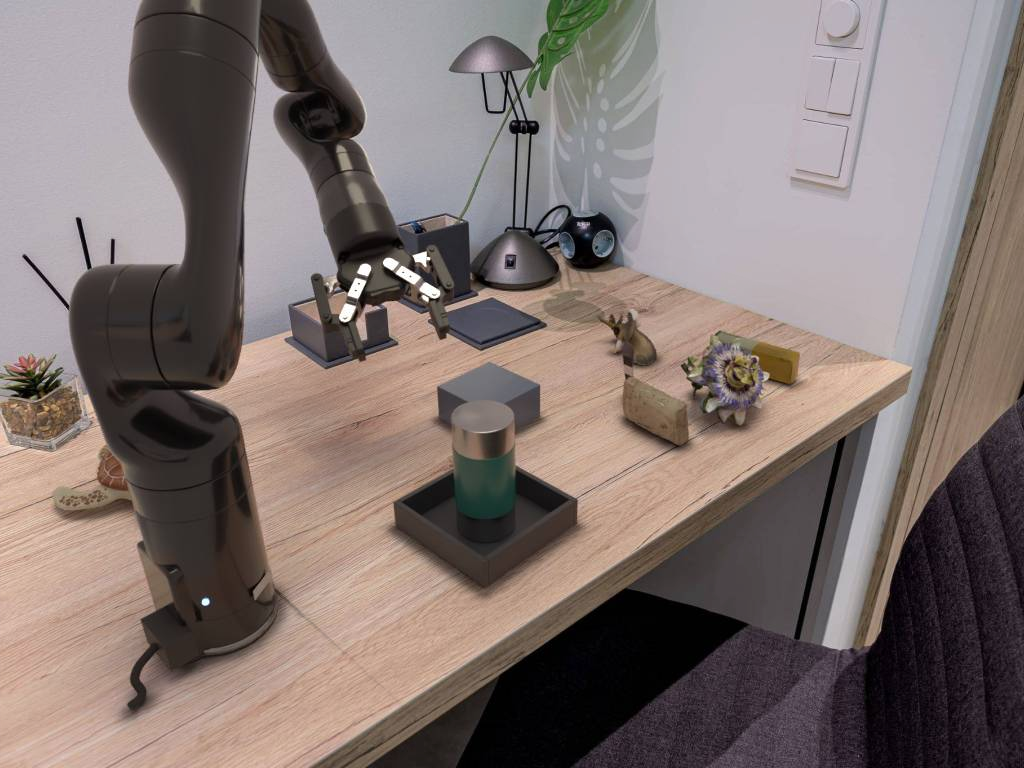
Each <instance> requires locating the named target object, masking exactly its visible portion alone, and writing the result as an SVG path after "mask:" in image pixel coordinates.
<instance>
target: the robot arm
mask: <svg viewBox="0 0 1024 768" xmlns="http://www.w3.org/2000/svg"><path fill="white" fill-rule="evenodd" d="M134 19H135V20H134V25H133V31H132V39H131V40H132V41H131V49H130V58H129V65H128V78H127V82H128V83H127V95H128V98H129V102H130V105H131V108H132V111H133V113H134V116H135V119H136V120H137V122H138V125H139V127H140V128H141V130H142V132H143V134H144V136H145V138H146V140H147V141H148V143H149V145H150V147H151V148H152V149H153V151H154V153H155V155H156V157H157V158H158V159H159V161H160V163H161V164H162V166H163V167H164V170H165V171H166V173H167V174H168V177H169V178H170V180H171V182H172V184H173V186H174V188H175V191H176V193H177V195H178V199H179V200H180V201H179V202H180V203H181V207H182V211H183V219H184V232H185V235H184V236H185V240H184V253H183V257H182V261H181V263H110V264H100V265H96V266H93V267H91V268H89V269H88V270H86V271H84V273H83V274H82V275H81V276H80V277H79V278H78V279H77V281H76V282H75V284H74V286H73V289H72V292H71V294H70V298H69V304H68V306H69V307H68V331H69V339H70V343H71V347H72V351H73V355H74V359H75V362H76V366H77V368H78V371H79V374H80V378H81V380H82V383H83V385H84V387H85V391H86V393H87V396H88V398H89V401H90V404H91V406H92V408H93V412H94V414H95V417H96V420H97V422H98V425H99V428H100V431H101V434H102V437H103V439H104V442H105V445H107V446H108V448H109V450H110V451H111V453H112V454H113V455H114V457H115V458H116V459H117V460H118V461H119V462H120V464H121V467H122V470H123V473H124V476H125V480H126V483H127V487H128V490H129V493H130V497H131V500H130V501H131V503H132V507H133V512H134V513H135V517H136V521H137V524H138V527H139V531H140V535H141V537H142V538H141V539H142V540H140V541H138V542H137V543H136V548H137V552H138V556H139V559H140V562H141V566H142V568H143V573H144V575H145V579H146V582H147V585H148V589H149V592H150V597H151V598H152V603H153V605H154V609H155V611H153V612H151V613H149V614H147V615H146V616H144V617H141V618H140V622H141V626H142V629H143V633H144V635H145V639H146V642H147V645H149V646H148V648H146V650H145V651H144V652H143V653H142V655H141V656H140V657H139V658H138V659H137V661H135V663H134V665H133V667H132V669H131V671H130V675H129V682H130V686H131V687H132V688H133V690H134V691H136V693H137V694H136V696H135V697H134V698H132V699H131V700H129V701H128V702H127V704H126V705H127V708H129V709H130V710H132V711H134V710H136V709H137V708H138V707H140V706H141V705H142V704H143V703H144V702H145V700H146V698H147V695H148V692H147V691H148V690H147V687H146V686H145V684H144V683H143V682H142V681H141V678H140V677H141V674H142V671H143V669H144V667H145V666H146V665H147V663H148V662H149V661H150V660H151V659H152V658H153V656H154V655H157V656H158V657H159V658H160V659H161V661H162V662H163V663H164V665H165V666H166V667H167V668H168V669H169V670H170V671H171V672H173V671H175V670H177V669H178V668H180V667H182V666H183V665H186V663H188V662H196V661H198V660H200V659H201V658H203V657H206V656H217V655H222V654H226V653H227V654H228V653H230V652H234V651H237V650H239V649H242V648H243V647H245V646H248V645H249V644H251V643H253V642H254V641H256V640H257V639H258V638H259V637H261V636H262V635H263V634H264V633H265V632H266V631H267V630H268V629H269V628H270V627H271V625H272V624H273V622H274V620H275V618H276V616H277V614H278V609H279V601H278V596H277V593H276V590H275V589H276V588H275V585H274V581H273V573H272V569H271V567H270V562H269V558H268V553H267V548H266V544H265V538H264V534H263V529H262V528H263V527H262V523H261V519H260V513H259V509H258V504H257V503H258V502H257V500H256V495H255V494H256V493H255V490H254V489H255V488H254V485H253V480H252V474H251V469H250V466H249V465H250V464H249V460H248V454H247V449H246V444H245V439H244V434H243V433H244V432H243V429H242V424H241V422H240V419H239V418H238V416H237V415H236V414H235V413H234V411H233V410H232V409H230V408H229V407H227V406H225V405H224V404H222V403H220V402H218V401H216V400H213V399H210V398H207V397H205V396H203V395H200V394H197V393H195V392H197V391H198V392H201V391H215V390H219V389H221V388H223V387H225V386H226V385H227V384H228V383H230V381H231V380H232V378H233V376H234V375H235V373H236V370H237V368H238V366H239V362H240V358H241V353H242V350H243V349H242V348H243V342H244V341H243V340H244V328H245V270H246V269H245V266H246V264H245V261H246V260H245V256H246V255H245V254H246V253H245V252H246V251H245V250H246V249H245V248H246V247H245V241H246V240H245V239H246V237H245V236H246V235H245V234H246V231H245V230H246V227H245V226H246V225H245V224H246V223H245V222H246V219H245V218H246V214H245V213H246V194H247V182H248V181H247V180H248V168H249V156H250V148H251V138H252V130H253V123H254V122H253V121H254V113H255V106H256V98H257V97H256V96H257V87H258V86H257V85H258V73H259V63H260V62H259V61H261V63H262V65H263V67H264V69H265V72H266V74H267V76H268V78H269V79H270V80H271V82H272V84H274V86H275V87H276V88H278V89H280V90H281V91H284V92H287V93H285V94H283V95H281V96H280V97H279V98H278V99H277V101H276V102H275V104H274V107H273V111H272V120H273V124H274V127H275V129H276V132H277V134H278V135H279V137H280V138H281V140H282V142H284V144H285V146H287V148H288V149H289V150H290V152H291V153H292V154H293V155H294V156H295V157H296V158H297V160H298V161H299V162H300V163H301V165H302V167H303V168H304V170H305V172H306V174H307V176H308V179H309V181H310V183H311V187H312V189H313V193H314V195H315V199H316V201H317V205H318V212H319V216H320V221H321V224H322V228H323V229H322V230H323V232H324V235H325V236H326V239H327V241H328V245H329V247H330V250H331V253H332V256H333V259H334V262H335V264H336V268H337V272H336V274H333V275H328V276H323V275H322V274H321V273H317V272H315V273H312V274H311V276H310V281H311V286H312V290H313V295H314V300H315V303H316V307H317V312H318V316H319V321H320V324H321V328H322V331H323V332H324V333H325V334H332V333H333V332H339V333H341V334H342V336H343V339H344V342H345V345H346V347H347V350H348V353H349V355H350V357H351V358H352V359H357V360H358V363H361V362H365V361H367V357H366V351H365V348H364V344H363V341H362V338H361V336H360V332H359V330H358V326H357V323H358V320H359V319H360V318H361V317H362V316H363V313H364V311H365V309H366V306H367V305H368V306H371V307H372V308H374V307H378V306H381V305H383V304H384V303H387V302H388V303H389V302H397V301H400V300H402V297H404V298H406V299H408V300H410V301H411V302H413V303H414V304H417V303H419V304H421V305H422V306H424V307H426V308H427V309H428V314H429V316H430V319H431V321H432V324H433V327H434V329H435V332H436V335H437V338H438V340H439V341H442V340H446V339H447V334H448V333H450V325H451V324H450V323H451V321H450V320H451V319H450V318H449V315H448V313H447V310H446V307H445V303H447V302H453V300H455V285H456V283H455V281H454V279H453V277H452V275H451V273H450V270H449V269H448V267H447V264H446V263H445V260H444V258H443V256H442V254H441V252H440V251H439V248H438V247H437V246H436V245H435V244H429V245H428V246H426V248H425V249H426V250H425V251H422V252H419V253H417V254H411V253H410V252H409V251H408V249H407V248H406V246H405V243H404V241H403V239H402V236H401V233H400V231H399V228H398V225H397V222H396V220H395V218H394V215H393V213H392V210H391V206H390V205H389V202H388V199H387V197H386V195H385V193H384V191H383V189H382V188H381V186H380V185H379V182H378V180H377V177H376V174H375V172H374V169H373V167H372V164H371V161H370V159H369V156H368V154H367V152H366V150H365V149H364V147H363V146H362V145H361V144H360V143H359V142H358V141H356V140H354V138H356V137H358V136H360V135H361V134H362V133H363V131H364V129H365V128H366V124H367V121H368V113H367V108H366V105H365V102H364V100H363V98H362V96H361V94H360V93H359V91H358V90H357V88H356V87H355V86H354V85H353V83H352V82H351V81H350V80H349V78H348V77H347V76H346V75H345V74H344V73H343V71H342V70H341V69H340V67H339V66H338V65H337V64H336V63H335V62H336V61H334V59H333V57H332V55H331V53H330V51H329V49H328V47H327V45H326V42H325V39H324V37H323V34H322V31H321V28H320V26H319V24H318V21H317V17H316V15H315V12H314V10H313V8H312V6H311V4H310V3H309V0H141V1H140V4H139V6H138V10H137V12H136V16H135V18H134ZM259 58H260V59H259ZM416 268H421V269H422V270H423V271H424V272H425V273H426V274H431V276H432V278H433V280H434V282H435V284H436V286H437V287H435V286H433V285H431V284H429V283H428V282H426V280H424V278H423V277H422V276H421V275H419V274H417V273H416V272H415V271H416ZM336 288H339V289H341V290H342V291H343V292H345V293H346V298H345V302H344V305H343V306H342V308H341V310H340V313H332V309H331V306H330V301H329V300H331V298H333V296H334V295H335V289H336Z"/></svg>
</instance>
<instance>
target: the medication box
mask: <svg viewBox="0 0 1024 768" xmlns="http://www.w3.org/2000/svg"><path fill="white" fill-rule="evenodd" d="M713 335H714V336H717V337H718V340H719V341H720V342H721V343H722V345H726V343H728V344H729V345H730V343H731V342H732V341H734V340H735V339H737V338H738V339H740V347H739V348H740V349H741V351H742V350H743V349H745V352H744V355H746V354H748V355H751V356H757V357H759V362H758V365H759V366H760V369H762V370H761V371H763V372H767V373H769V375H770V376H769V379H771V380H774V381H776V382H777V381H778V382H780V383H784V384H787V385H792V384H793V383H794V382H795V381H796V379H798V377H799V376H798V375H799V365H800V359H801V352H799V351H796V350H792V349H789V348H785V347H782V346H778V345H774V344H771V343H766V342H763V341H759V340H755V339H752V338H748V337H745V336H741V335H739V334H738V335H737V334H734V333H731V332H728V331H727V332H726V331H723V330H718V331H716V332H715V333H714V334H713Z"/></svg>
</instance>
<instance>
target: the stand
mask: <svg viewBox="0 0 1024 768" xmlns="http://www.w3.org/2000/svg"><path fill="white" fill-rule="evenodd" d="M436 390H437V391H436V393H437V409H438V419H440V420H442V421H444V422H445V423H447V424H449V425H451V415H452V413H453V411H454V410H455V409H456V408H457V407H459V406H461V405H463V404H465V403H468V402H472V401H478V400H490V401H496V402H500V403H503V404H505V405H507V406H508V407H510V408H511V409H512V411H513V413H514V432H515V431H517V430H518V429H520V428H523V427H524V426H526V425H528V424H529V423H531V422H533V421H535V420H537V419H538V418H541V384H540V383H537V382H535V381H533V380H531V379H529V378H527V377H524V376H522V375H520V374H518V373H516V372H513V371H511V370H509V369H506V368H504V367H502V366H500V365H498V364H495V363H493V362H492V361H488V362H486V363H484V364H482V365H479V366H477V367H474V368H473V369H470V370H468V371H465V372H464V373H462V374H460V375H457V376H455V377H454V378H452V379H450V380H447V381H445V382H443V383H441V384H439V385H437V386H436Z"/></svg>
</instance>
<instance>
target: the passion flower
mask: <svg viewBox="0 0 1024 768" xmlns="http://www.w3.org/2000/svg"><path fill="white" fill-rule="evenodd" d="M714 335H715V334H710V338H709V342H708V343H709V345H707V346H706V347H705V348H704V349H703V353H702V357H701V361H699V364H697V366H695V364H694V363H696V362H697V361H698V360H700V357H698V356H693V355H690V356H688V357H687V363H686V362H685V361H684V362H682V364H680V368H681V369H682V370H683V372H685V374H686V377H685V378H686V380H687V381H688V382H690V385H691V387H692V397H693V398H695V396H696V393H697V391H700V390H701V389H703V387H706V388H708V389H709V391H708V393H707V395H706V396H705V397H704V398H703V399H702V400H701V402H700V405H699V410H700V412H701V413H702V414H710V413H712V412H714V411H715V412H714V413H715V415H716V417H717V419H718V420H719V421H720V422H721V424H725V422H726V421H727V420H728V418H729V419H730V420H731V421H732V423H734V424H735V425H737V427H738V426H742V425H743V423H745V419H746V412H747V410H748V409H749V407H751V408H753V409H756V410H761V409H762V408H763V400H762V399H761V397H760V395H761V396H764V394H763V393H762V391H766V389H765V388H764V387H763V383H765V382H768V380H769V379H770V378H769V376H770V375H769V373H767V372H763V371H761V370H762V369H760V366H759V365H758V362H759V357H757V356H751V355H748V354H746V355H744V352H745V349H743V350H742V351H741V349H740V348H739V347H740V339H738V338H737V339H735V340H734V341H732V342H731V343H730V345H729V344H728V343H726V345H722V343H721V342H720V341H719V340H718V337H717V336H714ZM707 350H708V353H707V354H706V351H707ZM689 368H692V369H691V370H690V369H689Z"/></svg>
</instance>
